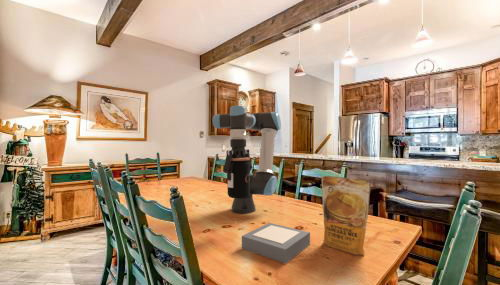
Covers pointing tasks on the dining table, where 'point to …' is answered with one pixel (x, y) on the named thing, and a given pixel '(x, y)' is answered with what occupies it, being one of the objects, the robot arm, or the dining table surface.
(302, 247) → the stand
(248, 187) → the coffee jar
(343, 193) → the pancake mix bag
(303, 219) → the dining table surface
